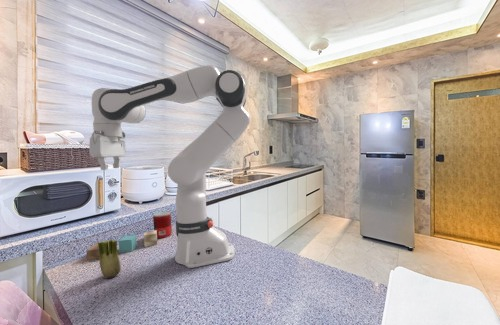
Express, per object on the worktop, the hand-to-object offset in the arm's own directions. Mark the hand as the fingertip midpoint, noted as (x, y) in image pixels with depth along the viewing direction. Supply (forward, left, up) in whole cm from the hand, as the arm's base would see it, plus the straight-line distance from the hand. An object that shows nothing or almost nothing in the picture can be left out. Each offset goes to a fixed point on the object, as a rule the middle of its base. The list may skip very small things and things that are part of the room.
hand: (110, 168), depth 84 cm
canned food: (-12, -20, -35) cm, 42 cm away
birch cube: (-9, -11, -35) cm, 38 cm away
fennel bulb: (-4, +14, -35) cm, 38 cm away
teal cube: (-1, -7, -35) cm, 36 cm away
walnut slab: (+8, -4, -35) cm, 36 cm away
